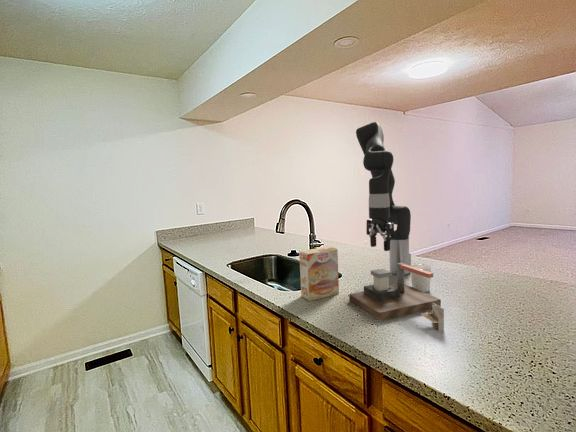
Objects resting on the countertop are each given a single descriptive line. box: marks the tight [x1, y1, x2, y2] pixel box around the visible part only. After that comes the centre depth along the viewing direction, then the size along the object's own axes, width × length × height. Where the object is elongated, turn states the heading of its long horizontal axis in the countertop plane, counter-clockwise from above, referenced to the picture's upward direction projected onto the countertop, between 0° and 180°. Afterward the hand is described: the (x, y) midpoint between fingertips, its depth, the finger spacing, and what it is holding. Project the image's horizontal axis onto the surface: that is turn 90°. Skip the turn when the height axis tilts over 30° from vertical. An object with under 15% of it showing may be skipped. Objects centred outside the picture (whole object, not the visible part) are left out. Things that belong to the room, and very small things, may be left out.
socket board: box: [348, 283, 442, 322], centre depth 124 cm, size 26×20×6 cm
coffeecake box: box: [298, 245, 340, 302], centre depth 137 cm, size 15×7×20 cm, turn 117°
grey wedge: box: [420, 303, 445, 333], centre depth 104 cm, size 3×7×7 cm, turn 10°
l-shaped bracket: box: [396, 263, 434, 292], centre depth 121 cm, size 17×3×11 cm, turn 21°
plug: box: [370, 268, 392, 291], centre depth 125 cm, size 5×5×10 cm
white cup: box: [410, 263, 432, 293], centre depth 137 cm, size 8×8×10 cm
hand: (380, 248), depth 123 cm, fingers open, 8 cm apart
